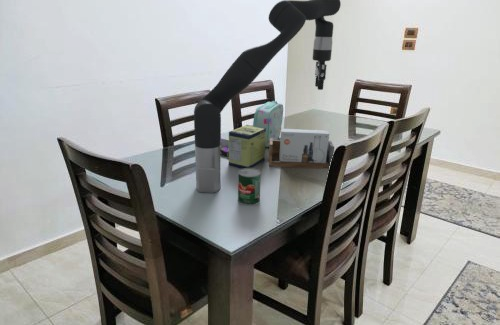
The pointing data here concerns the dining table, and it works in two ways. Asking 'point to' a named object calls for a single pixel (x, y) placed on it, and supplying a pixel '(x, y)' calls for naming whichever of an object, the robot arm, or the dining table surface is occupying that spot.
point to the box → (224, 147)
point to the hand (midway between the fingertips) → (318, 88)
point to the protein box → (247, 146)
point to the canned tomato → (249, 186)
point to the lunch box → (269, 120)
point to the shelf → (274, 154)
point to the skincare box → (303, 145)
